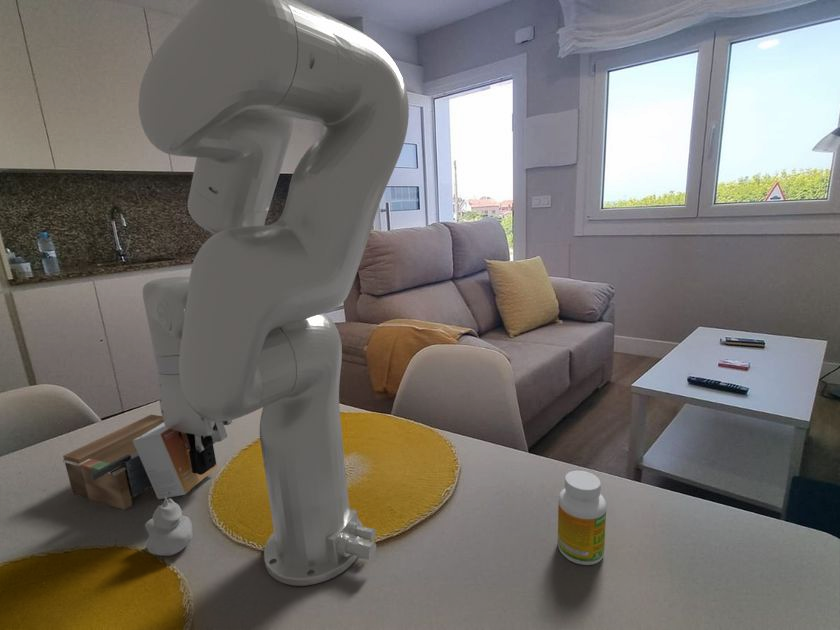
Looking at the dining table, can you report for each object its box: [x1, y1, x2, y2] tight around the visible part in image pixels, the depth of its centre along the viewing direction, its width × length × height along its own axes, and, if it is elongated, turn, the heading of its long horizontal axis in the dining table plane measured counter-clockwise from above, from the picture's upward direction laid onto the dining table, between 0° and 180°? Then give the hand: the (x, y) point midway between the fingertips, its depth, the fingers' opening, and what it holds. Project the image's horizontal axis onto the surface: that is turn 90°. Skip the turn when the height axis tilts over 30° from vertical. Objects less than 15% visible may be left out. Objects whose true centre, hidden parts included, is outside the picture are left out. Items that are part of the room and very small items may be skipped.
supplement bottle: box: [557, 470, 607, 566], centre depth 52 cm, size 5×5×10 cm
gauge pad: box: [90, 452, 153, 498], centre depth 70 cm, size 3×16×6 cm, turn 159°
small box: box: [133, 422, 218, 500], centre depth 70 cm, size 8×6×10 cm
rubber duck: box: [144, 497, 193, 557], centre depth 57 cm, size 5×7×8 cm
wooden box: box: [62, 414, 164, 510], centre depth 74 cm, size 12×16×7 cm
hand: (204, 469), depth 69 cm, fingers closed
